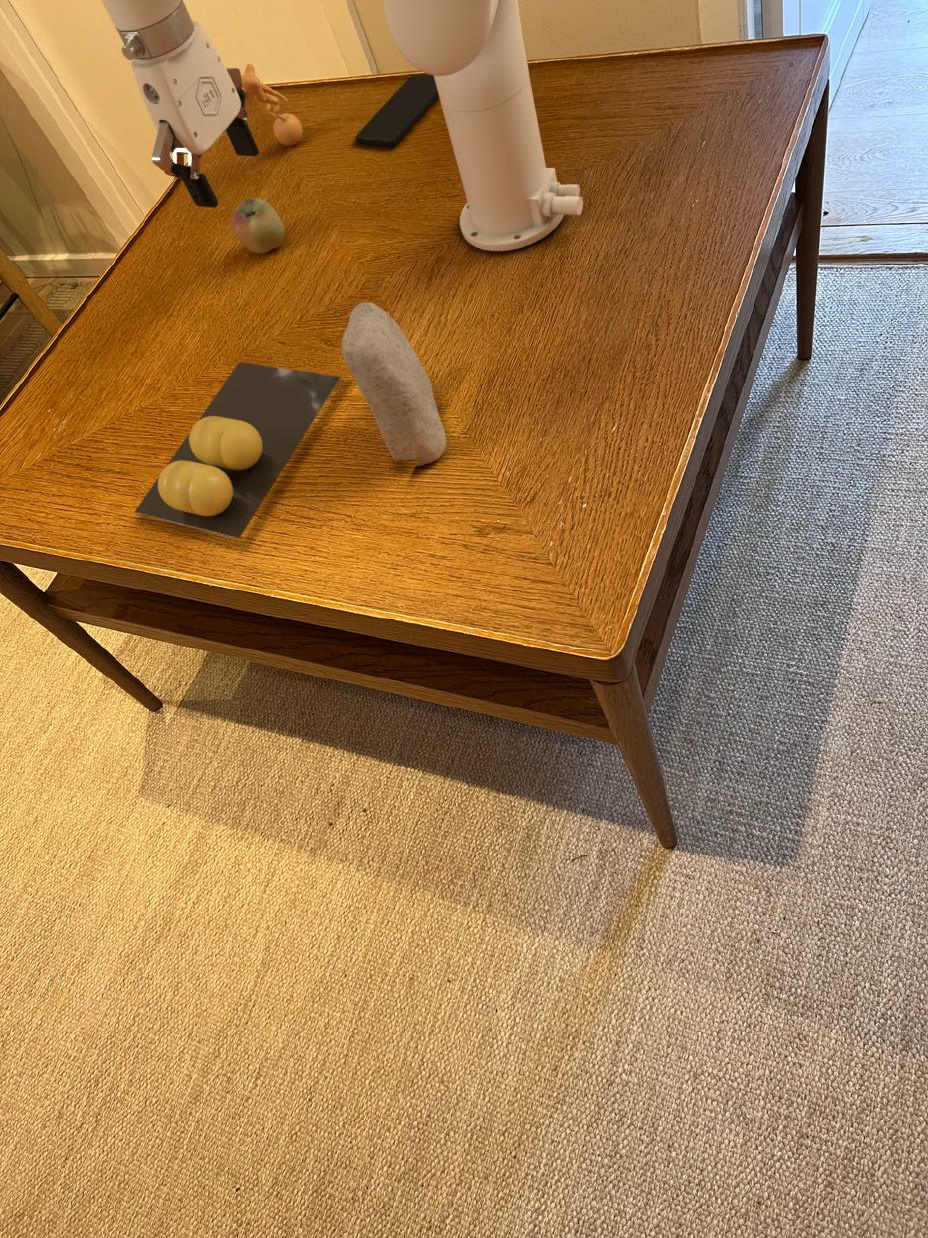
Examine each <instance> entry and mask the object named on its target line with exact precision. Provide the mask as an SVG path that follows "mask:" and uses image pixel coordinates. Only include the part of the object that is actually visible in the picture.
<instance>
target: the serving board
mask: <svg viewBox="0 0 928 1238" xmlns="http://www.w3.org/2000/svg"><path fill="white" fill-rule="evenodd" d="M341 379H342V377H341V376H337V375H330V374H323V373H317V372H316V373H315V372H309V371H302V370H296V369H289V368H283V367H277V366H269V365H264V364H263V365H262V364H255V363H250V362H241V361H238V363H237V364H236V366H235V368H233V370H232V372H231V373H230V374H229V376H228V377H227V379H226V380H225V381H224V383H223V385H222V386H221V387H220V388H219V390H218V392H217V393H216V394H215V396H214V397H213V398H212V400H211V401H210V403H209V405H208V406H207V408H206V409H204V411H203V413H202V414H201V415H200V417H199V419H198V420H197V422H198V421H199V420H201V419H203V418H205V417H209V416H218V417H224V418H229V419H235V420H240V421H244V422H246V423H249V424H250V425H252V426H253V427H254V428H255V429H256V430H257V431H258V433H259V435H260V437H261V439H262V453H261V456H260V458H259V460H258V461H257V462H256V463H255V464H254V465H253V466H252V467H250V468H248V469H245V470H232V469H227V468H222V467H218V466H213V465H210V466H213V467H216V468H219V469H220V470H222V471H223V472H224V473H225V474H226V475H227V476H228V477H229V479H230V481H231V483H232V487H233V496H232V500H231V503H230V504H229V506H228V507H227V508H226V509H225V510H224V511H223V512H221V513H220V514H217V515H214V516H201V515H197V514H193V513H189V512H185V511H181V510H177V509H174V508H172V507H170V506H169V505H168V504H166V503H165V502H164V500H163V499H162V498H161V496H160V493H159V490H158V479H159V476H158V477H157V478H156V480H155V482H154V483H153V484H152V485H151V487H150V489H149V490H148V492H147V493H146V495H145V496H144V497H143V499H142V500H141V502H140V503H139V504H138V506H137V507H136V508H135V510H134V511H133V513H134V514H139V515H142V516H147V517H151V518H153V519H158V520H162V521H166V522H170V523H175V524H178V525H182V526H187V527H190V528H194V529H198V530H202V531H206V532H210V533H214V534H217V535H222V536H226V537H230V538H234V539H238V540H239V539H240V538H241V537H242V536H243V533H244V532H245V530H246V529H247V528H248V526H249V524H250V522H251V521H252V519H253V518H254V516H255V514H256V513H257V512H258V510H259V508H260V507H261V505H262V503H263V502H264V500H265V498H266V497H267V495H268V494H269V492H270V491H271V489H272V488H273V486H274V484H275V483H276V481H277V479H278V478H279V476H280V475H281V473H282V471H283V470H284V469H285V467H286V466H287V464H288V462H289V460H290V459H291V457H292V456H293V454H294V453H295V451H296V449H297V448H298V447H299V445H300V443H301V442H302V440H303V438H304V437H305V435H306V434H307V432H308V431H309V429H310V427H311V426H312V425H313V422H314V421H315V419H316V418H317V416H318V415H319V413H320V412H321V410H322V409H323V407H324V405H325V404H326V402H327V400H328V399H329V397H330V396H331V394H332V393H333V391H334V390H335V388H336V386H337V384H338V383H339V382H340V380H341ZM189 436H190V432H189V433H188V435H187V436H186V437H185V439H184V440H183V442H182V443H181V444H180V446H179V447H178V449H177V450H176V451H175V453H174V455H173V456H172V457H171V458H170V460H169V462H167V464H166V466H167V465H169V464H171V463H173V462H175V461H180V460H183V461H191V462H196V463H200V464H205V465H209V464H206V463H204V462H202V461H201V460H199V459H198V458H197V457H196V456H195V455H194V453H193V452H192V450H191V447H190V443H189Z"/></svg>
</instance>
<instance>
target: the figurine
mask: <svg viewBox="0 0 928 1238" xmlns="http://www.w3.org/2000/svg"><path fill="white" fill-rule="evenodd" d="M241 79H242V90H243V91H244V93H245V98H246V96H248V95H251V96H253V98H254V99H255V100H256V101H258V102H259V103H264V104H266V105H265V111H266V112H267V115H268V116H269V117H271V118H273V119H274V120H275V121H274V123H273V134H274V137H275V138H276V140H277V141H278V142H279V143H280V144H282V145H284V146H288V147H290V146H295V145H296V144H298V143H299V142H300V140H301V139H302V137H303V125H302V123H301V121H300V119H299V117H297V116H295V114H293V113H288V112H286V113H281V114H280V113H279V112H280V99H279V98H281V99H282V100H283V101H285V102H286V103H287V104H289V103H290V101H289V99H288V98H286V96H285V95H283V94H281V93H280V92H278V91H276V90H274V89H272V88H271V87H269V86H268V85H267V84H265V83H264V82H261V80H260V78H259V77H258V76H257V75H256V69H255V67H254V65H253V64H251V63H247V65H246V67H245V70H244V72H243V74H241ZM264 91H267V92H264ZM268 92H269V93H268ZM271 105H275V106H274V108H273V112H271V111H272V107H271Z"/></svg>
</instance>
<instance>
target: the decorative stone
mask: <svg viewBox="0 0 928 1238" xmlns="http://www.w3.org/2000/svg"><path fill="white" fill-rule="evenodd" d="M341 355H342V358H343V360H344V363H345V364H346V366H347V367H348V369H349V370H350V372H351V374H352V376H353V378H354V381H355V383H356V385H357V387H358V389H359V391H360V393H361V395H362V396H363V398H364V400H365V402H366V403H367V405H368V407H369V409H370V411H371V413H372V415H373V417H374V420H375V422H376V424H377V426H378V429H379V432H380V434H381V436H382V439H383V442H384V443H385V446H386V448H387V450H388V452H389V453H390V455H391V457H392V459H393V460H394V461H396V462H397V461H398V462H399V461H409V460H416V459H419V460H418V461H417V463H416V465H415V468H417V467H420V466H424V465H427V464H431V463H433V462H435V461H437V460H438V459H440V457H441V456H442V455H443V454H444V452H445V451H446V449H447V437H446V432H445V428H444V425H443V423H442V421H441V417H440V414H439V411H438V407H437V403H436V401H435V397H434V391H433V386H432V383H431V380H430V377H429V375H427V373H426V371H425V369H424V367H423V365H422V364H421V362H420V360H419V357H418V356H417V353H416V351H415V350H414V348H413V346H412V344H411V342H410V341H409V339H408V338H407V337H406V334H405V333H404V332H403V331H402V329H401V328H400V326H399V324H398V323H397V322H396V321H395V319H394V318H393V317H392V316H391V315H390V314H389V313H387V312H386V311H385V310H384V309H382V308H381V307H379V306H378V305H376V304H375V303H373V302H361V303H359V304H357V305H355V306H354V307H353V308H352V310H351V313H350V315H349V319H348V323H347V327H346V329H345V330H344V333H343V335H342V340H341Z"/></svg>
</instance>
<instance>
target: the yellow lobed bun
mask: <svg viewBox="0 0 928 1238" xmlns="http://www.w3.org/2000/svg"><path fill="white" fill-rule="evenodd" d="M198 420H199V419H198ZM198 420H197V421H196V422H195V424H194V425H193V426H192V428H191V429H190V431H189V433H190V436H189V443H190V447H191V450H192V452H193V453H194V455H195V456H196V457H197V458H198V459H199V460H201V461H202V462H204V463H206V464H209V465H213V466H218V467H222V468H227V469H232V470H245V469H248V468H250V467H252V466H253V465H254V464H255V463H256V462H257V461H258V460H259V458H260V456H261V453H262V439H261V437H260V435H259V433H258V431H257V430H256V429H255V428H254V427H253V426H252V425H250V424H249V423H246V422H244V421H240V420H235V419H229V418H224V417H218V416H209V417H205V418H203V419H201V420H199V421H198Z"/></svg>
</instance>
